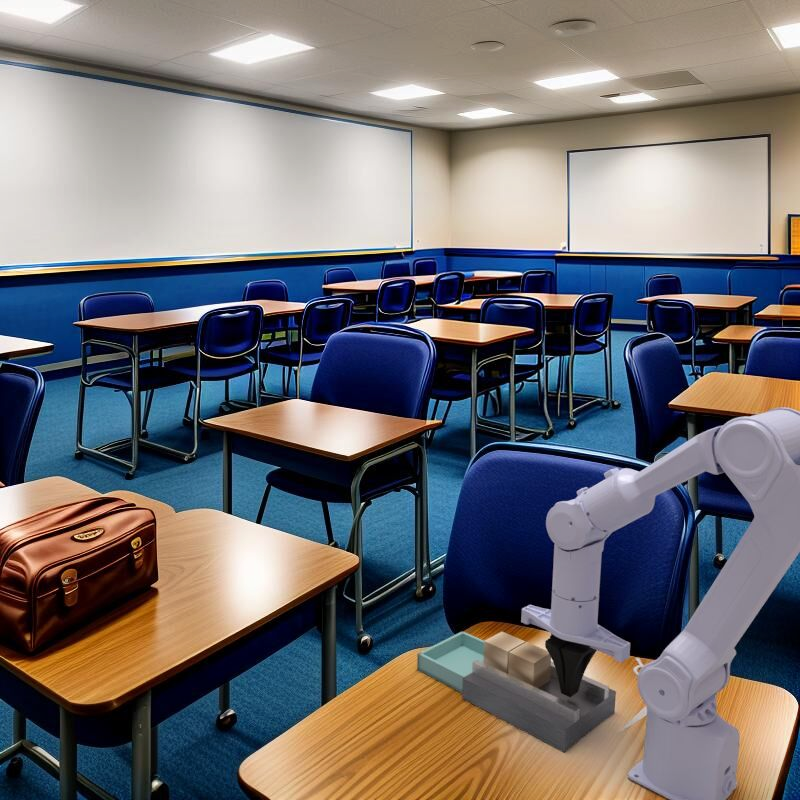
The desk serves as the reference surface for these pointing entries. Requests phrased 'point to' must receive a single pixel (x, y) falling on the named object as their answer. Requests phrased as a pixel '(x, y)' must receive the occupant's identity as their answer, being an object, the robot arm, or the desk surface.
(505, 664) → the block
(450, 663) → the tray
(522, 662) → the block
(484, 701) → the slot board
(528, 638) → the desk surface
